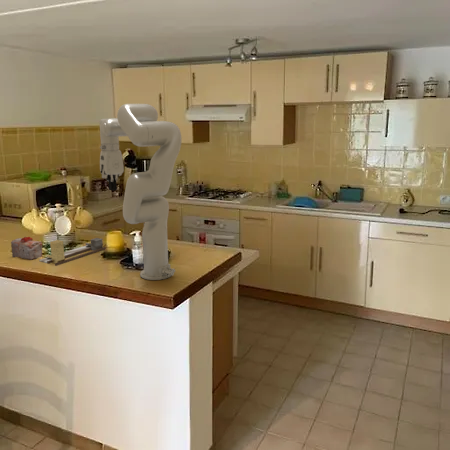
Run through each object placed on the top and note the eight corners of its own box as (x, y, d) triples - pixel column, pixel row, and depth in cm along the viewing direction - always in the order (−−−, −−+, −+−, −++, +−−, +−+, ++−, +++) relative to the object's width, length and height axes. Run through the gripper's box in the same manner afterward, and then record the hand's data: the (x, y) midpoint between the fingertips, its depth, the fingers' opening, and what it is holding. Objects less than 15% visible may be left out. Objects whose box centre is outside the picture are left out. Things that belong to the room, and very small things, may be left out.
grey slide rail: (108, 251, 213) (107, 238, 211) (53, 269, 188) (52, 255, 187) (90, 247, 219) (89, 234, 217) (35, 264, 194) (33, 250, 193)
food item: (46, 258, 203) (44, 236, 201) (31, 263, 196) (29, 241, 194) (24, 254, 209) (21, 233, 206) (9, 259, 202) (6, 237, 199)
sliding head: (64, 261, 194) (63, 241, 192) (57, 264, 191) (55, 243, 189) (51, 258, 199) (49, 238, 196) (44, 260, 196) (42, 240, 193)
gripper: (103, 149, 190) (106, 193, 194) (128, 147, 202) (131, 188, 207) (90, 148, 194) (93, 191, 198) (116, 146, 206) (119, 187, 211)
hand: (112, 190), depth 202 cm, fingers closed
